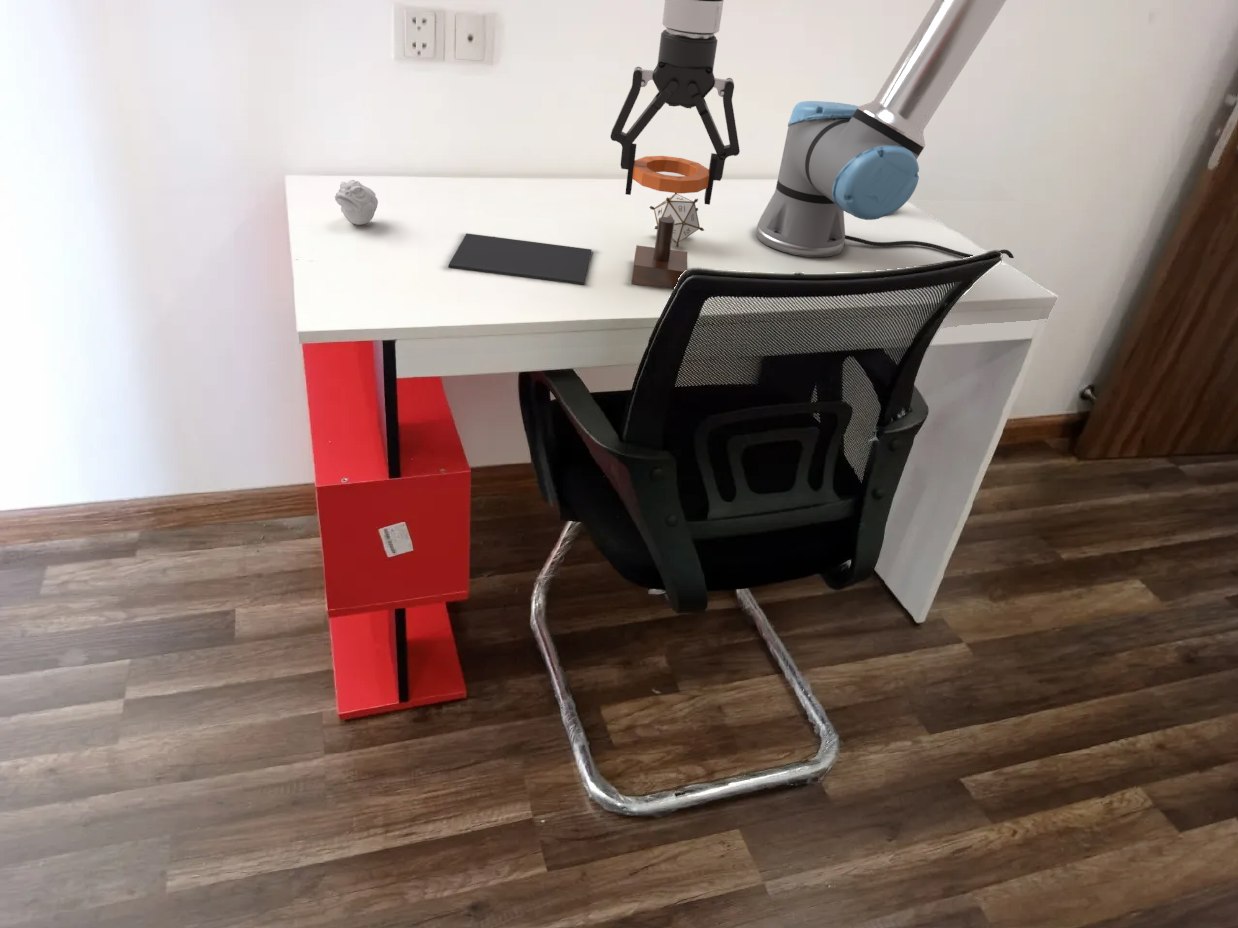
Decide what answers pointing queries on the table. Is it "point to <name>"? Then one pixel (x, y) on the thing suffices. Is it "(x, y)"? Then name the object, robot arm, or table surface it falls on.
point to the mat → (522, 258)
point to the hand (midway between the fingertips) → (667, 196)
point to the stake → (659, 259)
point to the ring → (648, 175)
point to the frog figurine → (356, 202)
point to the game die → (679, 216)
